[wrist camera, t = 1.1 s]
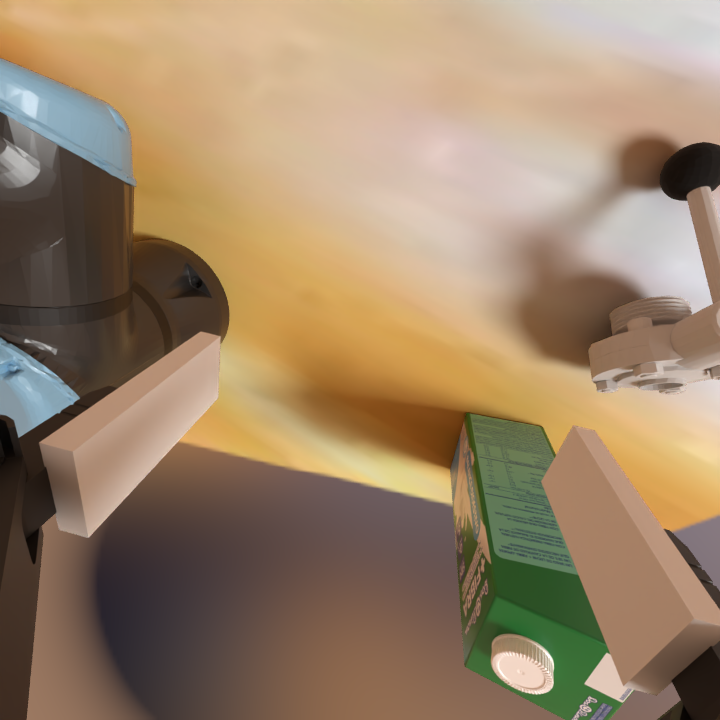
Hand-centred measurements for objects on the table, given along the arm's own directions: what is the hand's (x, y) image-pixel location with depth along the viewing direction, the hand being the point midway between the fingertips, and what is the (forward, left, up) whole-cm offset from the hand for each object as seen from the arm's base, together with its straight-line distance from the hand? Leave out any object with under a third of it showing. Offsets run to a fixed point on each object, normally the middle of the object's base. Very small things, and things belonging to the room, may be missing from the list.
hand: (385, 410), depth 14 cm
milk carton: (+16, -19, -28) cm, 38 cm away
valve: (+22, 0, -31) cm, 38 cm away
